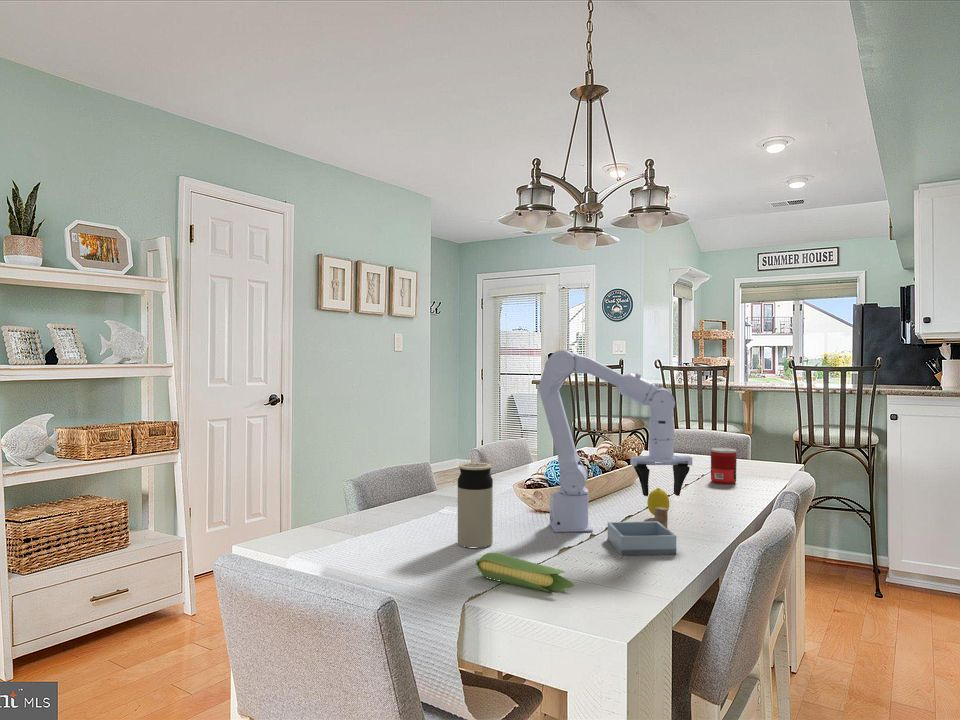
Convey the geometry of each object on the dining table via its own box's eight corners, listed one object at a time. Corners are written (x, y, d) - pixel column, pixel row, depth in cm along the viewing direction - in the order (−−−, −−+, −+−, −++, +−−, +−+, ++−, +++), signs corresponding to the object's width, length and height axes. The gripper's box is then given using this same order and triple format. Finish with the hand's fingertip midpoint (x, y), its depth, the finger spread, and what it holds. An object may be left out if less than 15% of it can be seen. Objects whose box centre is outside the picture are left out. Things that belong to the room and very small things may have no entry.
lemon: (670, 521, 168) (670, 490, 168) (647, 520, 169) (648, 489, 169) (668, 516, 174) (668, 486, 174) (646, 515, 175) (647, 485, 175)
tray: (621, 555, 141) (621, 536, 141) (607, 539, 153) (607, 522, 153) (676, 554, 141) (676, 536, 141) (658, 538, 153) (658, 521, 153)
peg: (656, 535, 156) (656, 510, 156) (652, 532, 159) (652, 507, 159) (669, 535, 156) (669, 510, 156) (664, 531, 159) (665, 507, 159)
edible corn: (486, 549, 131) (474, 548, 128) (577, 571, 120) (567, 570, 117) (481, 575, 130) (469, 575, 127) (573, 600, 119) (562, 600, 116)
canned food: (739, 484, 215) (740, 451, 214) (715, 484, 215) (715, 451, 215) (731, 480, 222) (731, 447, 222) (707, 479, 222) (707, 447, 222)
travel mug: (497, 547, 146) (497, 467, 146) (462, 550, 144) (462, 468, 144) (486, 537, 154) (486, 461, 154) (453, 540, 152) (453, 462, 151)
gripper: (636, 441, 153) (636, 499, 153) (697, 440, 153) (697, 498, 154) (628, 437, 160) (627, 492, 160) (686, 436, 161) (686, 492, 161)
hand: (661, 495), depth 157 cm, fingers open, 7 cm apart
